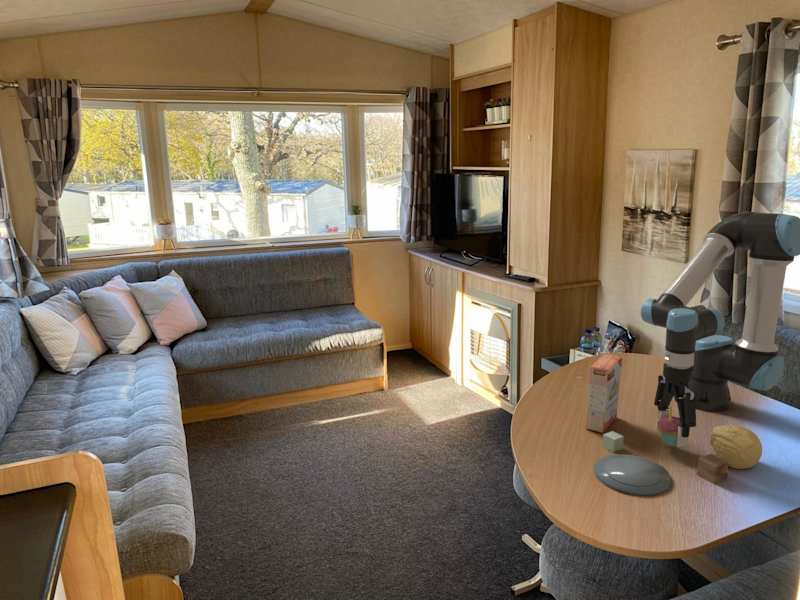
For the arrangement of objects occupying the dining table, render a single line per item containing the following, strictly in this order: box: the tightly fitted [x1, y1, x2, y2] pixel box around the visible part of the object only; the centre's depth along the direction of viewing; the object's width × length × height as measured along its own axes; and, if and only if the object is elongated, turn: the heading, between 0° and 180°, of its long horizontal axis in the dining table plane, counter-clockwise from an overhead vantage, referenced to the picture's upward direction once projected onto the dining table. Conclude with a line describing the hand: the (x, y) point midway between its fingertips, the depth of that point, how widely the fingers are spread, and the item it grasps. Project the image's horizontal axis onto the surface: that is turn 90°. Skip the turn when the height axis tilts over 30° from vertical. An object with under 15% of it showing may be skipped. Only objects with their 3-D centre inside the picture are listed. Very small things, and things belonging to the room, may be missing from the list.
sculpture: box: [709, 423, 763, 470], centre depth 163 cm, size 12×12×11 cm
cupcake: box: [656, 403, 691, 446], centre depth 170 cm, size 9×8×12 cm
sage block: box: [601, 431, 625, 453], centre depth 173 cm, size 4×4×4 cm
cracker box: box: [585, 353, 623, 434], centre depth 186 cm, size 14×6×21 cm, turn 144°
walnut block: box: [696, 453, 729, 484], centre depth 157 cm, size 5×5×5 cm
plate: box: [593, 453, 672, 497], centre depth 159 cm, size 19×19×1 cm
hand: (672, 438), depth 171 cm, fingers closed on cupcake, 8 cm apart
